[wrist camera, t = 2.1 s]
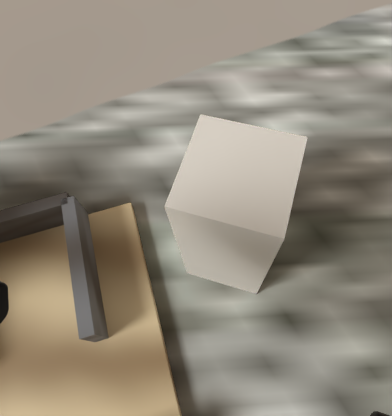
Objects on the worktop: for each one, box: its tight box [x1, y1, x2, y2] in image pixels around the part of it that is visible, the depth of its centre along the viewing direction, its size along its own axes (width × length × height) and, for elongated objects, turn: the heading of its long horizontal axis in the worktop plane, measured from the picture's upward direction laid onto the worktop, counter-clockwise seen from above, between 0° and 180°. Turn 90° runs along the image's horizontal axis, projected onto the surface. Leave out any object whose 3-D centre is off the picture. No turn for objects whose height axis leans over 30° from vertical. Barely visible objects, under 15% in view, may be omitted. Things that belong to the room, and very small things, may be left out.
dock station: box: [0, 192, 182, 416], centre depth 18 cm, size 18×13×4 cm
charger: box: [165, 115, 307, 294], centre depth 18 cm, size 5×4×10 cm
